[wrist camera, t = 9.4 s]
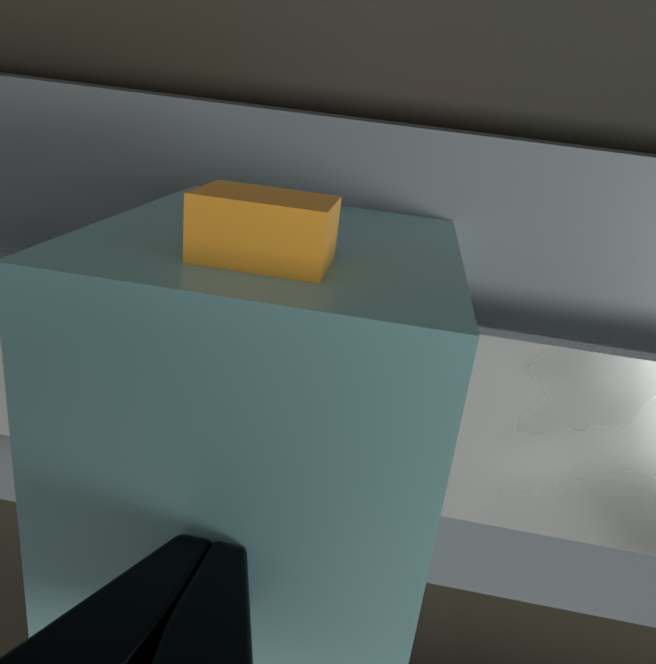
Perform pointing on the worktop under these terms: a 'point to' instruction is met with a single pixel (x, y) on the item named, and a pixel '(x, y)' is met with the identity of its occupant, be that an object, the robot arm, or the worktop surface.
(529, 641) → the worktop surface
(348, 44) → the worktop surface
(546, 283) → the plate
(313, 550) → the block
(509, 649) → the worktop surface
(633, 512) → the din rail
